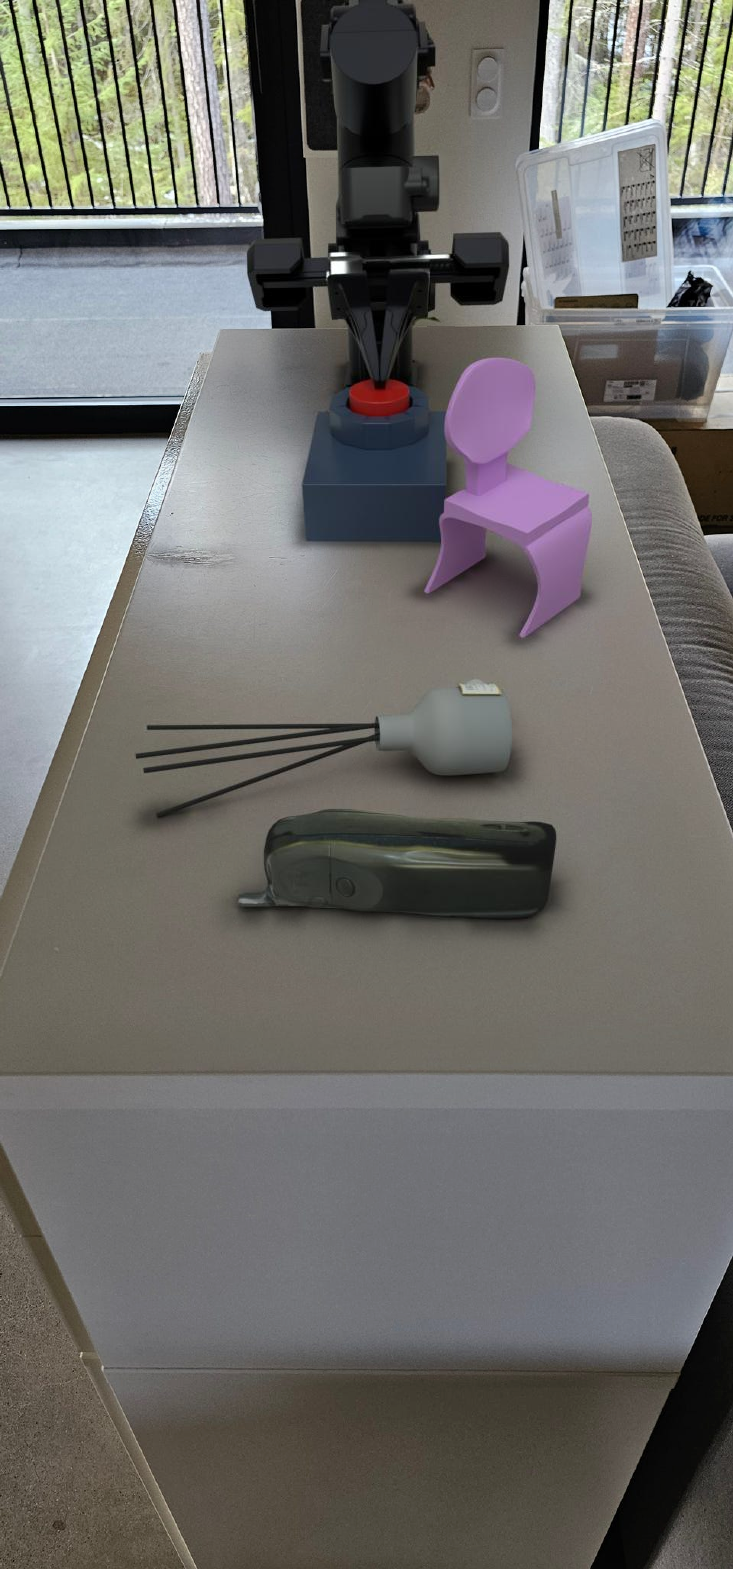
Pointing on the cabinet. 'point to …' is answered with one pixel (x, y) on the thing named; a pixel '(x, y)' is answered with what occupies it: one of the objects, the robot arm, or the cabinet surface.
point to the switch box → (376, 474)
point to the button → (379, 399)
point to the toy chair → (508, 490)
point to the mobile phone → (407, 864)
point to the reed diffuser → (389, 736)
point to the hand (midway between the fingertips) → (379, 386)
